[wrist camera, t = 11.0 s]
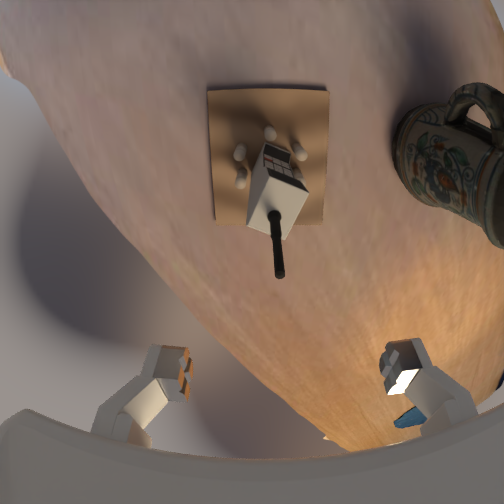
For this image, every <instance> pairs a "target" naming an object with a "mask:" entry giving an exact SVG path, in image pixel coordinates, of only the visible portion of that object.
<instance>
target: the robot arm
mask: <svg viewBox="0 0 504 504" xmlns="http://www.w3.org/2000/svg"><path fill="white" fill-rule="evenodd" d="M385 349H386V351H385V352H384V353H382V355H381V357H380V361H379V368H380V372H381V375H382V376H384V377H385V380H384V386H385V390H386V393H387V395H391V394H397V393H403V392H404V394H405V395H406V396H407V397H408V398H409V399H410V401H411V402H412V403H413V404H414V405H415V406H416V407H417V408H418V409H419V410H420V411H421V412H422V413H423V414H424V415H425V416H426V418H427V419H428V420H427V421H426V422H425V423H424V424H422V425H421V427H420V431H421V435H422V436H419V437H416V438H413V439H409V440H405V441H402V442H398V443H394V444H389V445H385V446H380V447H376V448H371V449H366V450H360V451H354V452H348V453H341V454H334V455H326V456H317V457H304V458H287V459H233V458H218V457H207V456H197V455H189V454H181V453H175V452H167V451H162V450H157V449H151V444H152V439H151V438H150V436H149V435H148V434H147V433H146V432H145V431H144V430H143V429H144V428H145V427H146V426H147V425H148V424H149V423H150V421H151V420H152V419H153V418H154V417H155V416H156V415H157V414H158V413H159V412H160V410H161V409H162V408H163V407H164V406H165V405H166V404H167V403H168V401H176V402H188V397H189V393H190V387H189V385H188V383H189V382H190V381H191V380H192V376H193V362H192V359H191V358H189V350H188V348H186V347H175V346H166V345H156V344H152V345H151V346H150V347H149V350H148V353H147V356H146V359H145V362H144V365H143V368H142V371H141V374H140V376H136V377H134V378H133V379H132V380H131V381H130V382H128V383H127V384H126V385H125V386H123V387H122V388H121V389H120V390H119V391H117V392H116V393H115V394H114V395H113V396H111V397H110V398H109V399H108V400H107V401H105V402H104V403H103V404H102V405H100V406H99V408H98V411H97V414H96V417H95V420H94V423H93V426H92V429H91V432H90V433H89V432H86V431H83V430H80V429H77V428H75V427H72V426H69V425H66V424H64V423H61V422H58V421H56V420H54V419H51V418H49V417H46V416H44V415H42V414H40V413H37V412H35V411H33V410H30V409H24V410H22V411H20V412H18V413H16V414H15V415H13V416H11V417H10V418H8V419H7V420H6V421H4V422H3V423H2V424H1V426H0V504H504V403H502V404H500V405H498V406H496V407H494V408H492V409H490V410H488V411H486V412H484V413H481V414H479V415H478V412H477V409H476V407H475V404H474V402H473V399H472V397H471V394H470V392H469V391H468V390H466V389H465V388H464V387H462V386H461V385H460V384H459V383H457V382H456V381H455V380H453V379H452V378H451V377H450V376H448V375H447V374H446V373H444V372H443V371H442V370H441V369H439V368H438V367H437V366H433V365H432V362H431V360H430V358H429V356H428V353H427V351H426V349H425V347H424V345H423V343H422V340H421V339H420V338H413V339H405V340H398V341H391V342H388V343H387V344H386V346H385Z"/></svg>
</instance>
